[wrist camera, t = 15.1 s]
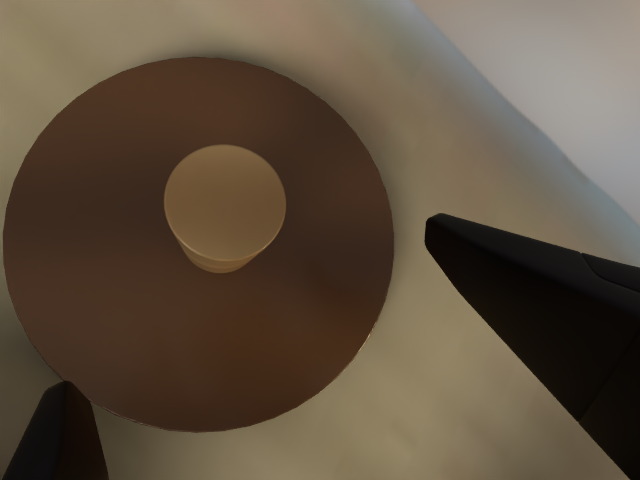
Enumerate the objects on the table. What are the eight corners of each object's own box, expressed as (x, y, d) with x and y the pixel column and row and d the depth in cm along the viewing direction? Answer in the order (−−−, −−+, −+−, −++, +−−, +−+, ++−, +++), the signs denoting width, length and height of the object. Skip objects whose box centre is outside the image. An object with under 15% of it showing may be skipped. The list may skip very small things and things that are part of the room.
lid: (393, 403, 18) (503, 467, 11) (6, 447, 15) (-174, 582, 8) (375, 86, 20) (461, -22, 13) (25, 53, 16) (-107, -122, 9)
